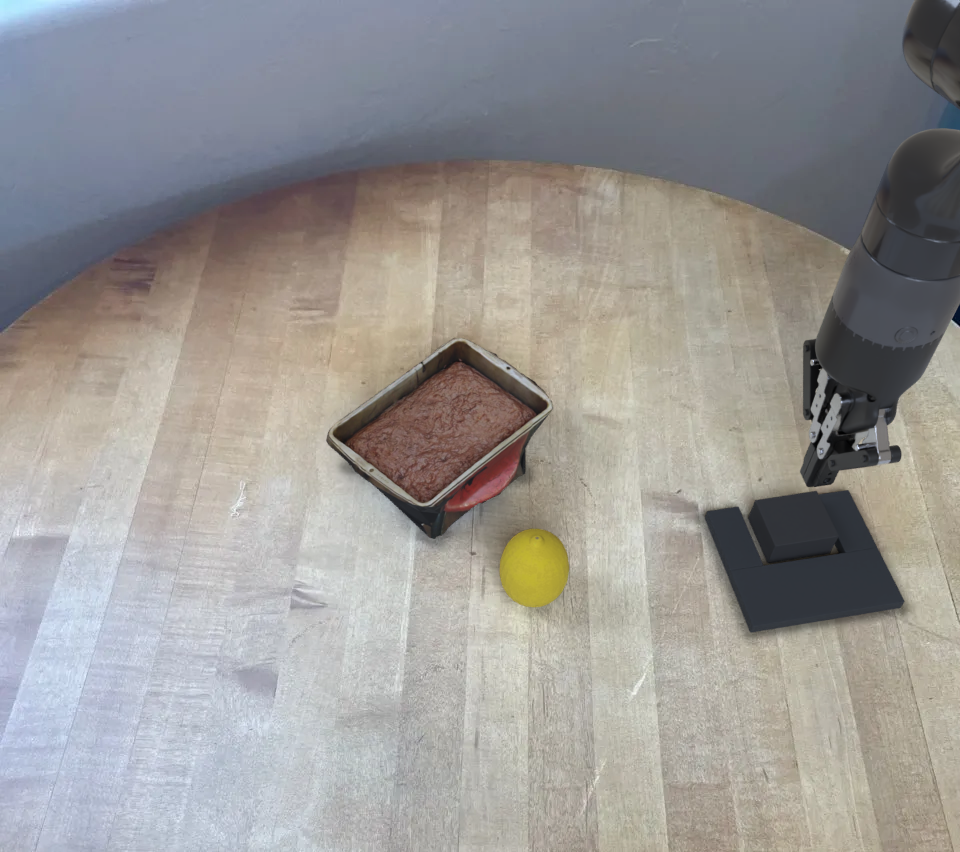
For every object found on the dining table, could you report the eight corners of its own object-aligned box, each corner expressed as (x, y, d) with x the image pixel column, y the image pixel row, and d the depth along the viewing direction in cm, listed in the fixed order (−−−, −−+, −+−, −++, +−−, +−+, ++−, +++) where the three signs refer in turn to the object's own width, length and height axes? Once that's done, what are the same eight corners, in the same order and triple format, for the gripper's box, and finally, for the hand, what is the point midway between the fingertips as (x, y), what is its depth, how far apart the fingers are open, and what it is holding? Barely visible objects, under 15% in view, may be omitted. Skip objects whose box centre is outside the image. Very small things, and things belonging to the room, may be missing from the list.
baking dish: (558, 488, 91) (574, 397, 84) (409, 575, 82) (412, 482, 75) (453, 412, 97) (459, 321, 90) (305, 485, 89) (297, 391, 81)
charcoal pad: (843, 500, 88) (848, 489, 87) (898, 611, 82) (905, 601, 81) (703, 521, 87) (706, 510, 86) (748, 636, 81) (753, 626, 79)
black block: (806, 512, 87) (816, 490, 85) (827, 557, 85) (839, 536, 82) (746, 521, 87) (754, 499, 84) (765, 567, 84) (775, 546, 82)
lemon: (574, 583, 83) (584, 524, 76) (549, 634, 80) (556, 577, 74) (514, 561, 84) (518, 500, 78) (487, 610, 82) (488, 552, 75)
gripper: (992, 366, 62) (892, 537, 76) (905, 232, 68) (828, 412, 83) (878, 383, 61) (799, 552, 76) (801, 245, 68) (742, 425, 82)
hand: (814, 478), depth 79 cm, fingers closed
